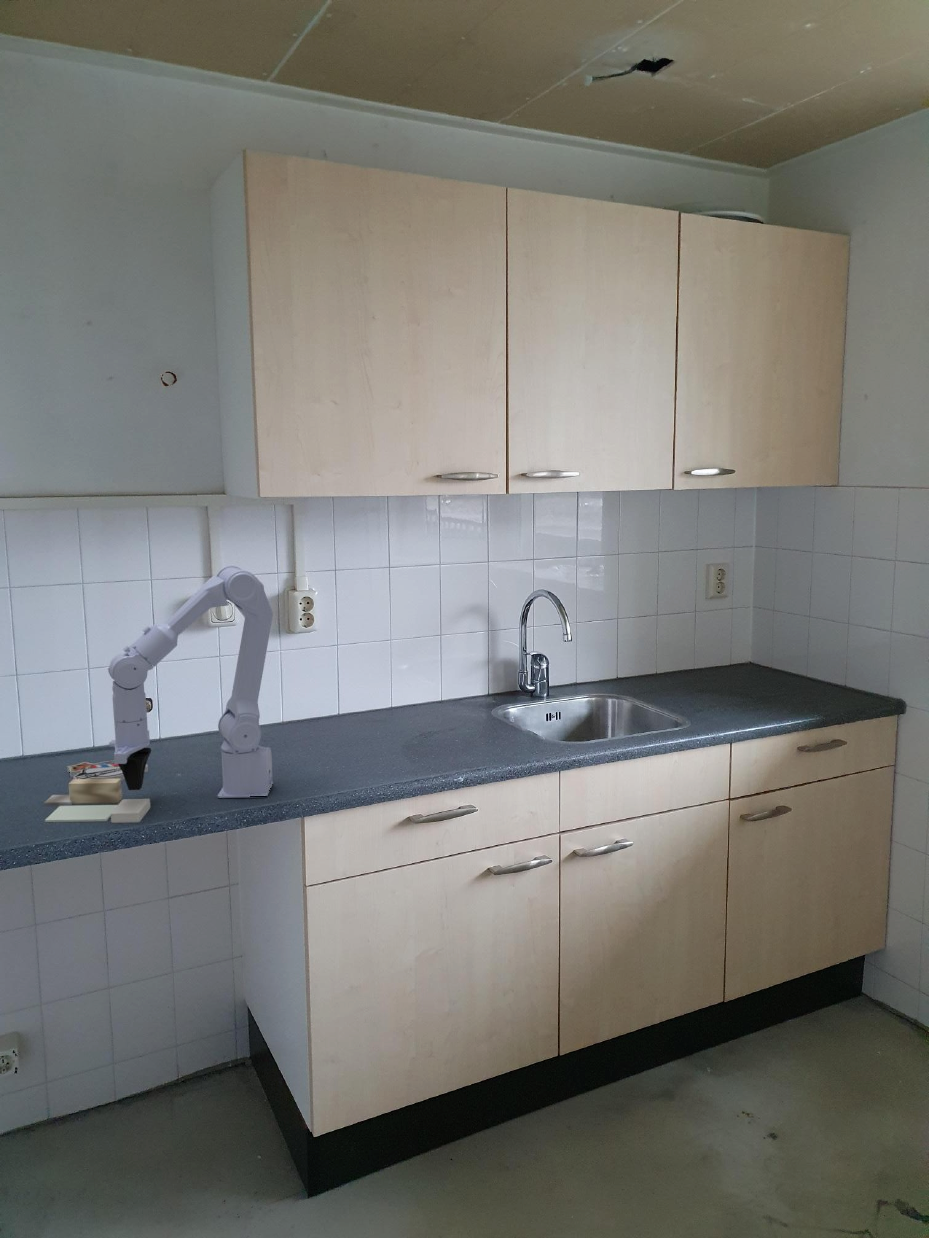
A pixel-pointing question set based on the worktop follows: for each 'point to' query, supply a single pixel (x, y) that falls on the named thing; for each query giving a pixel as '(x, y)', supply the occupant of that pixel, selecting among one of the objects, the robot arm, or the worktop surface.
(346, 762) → the worktop surface
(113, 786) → the wooden handled scraper
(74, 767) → the emblem
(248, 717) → the robot arm
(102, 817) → the pad
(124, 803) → the tile
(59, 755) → the worktop surface
